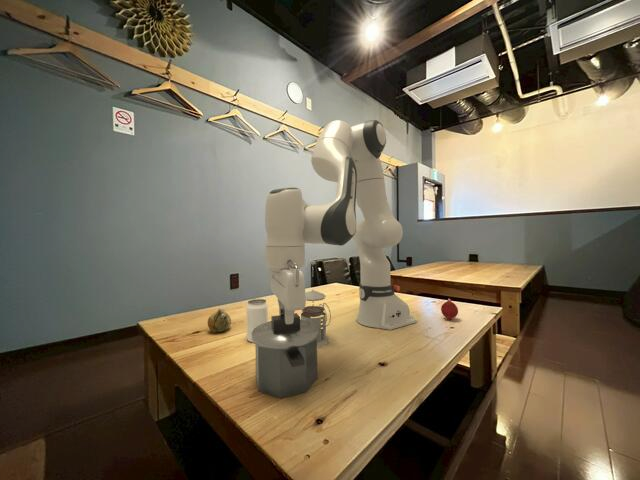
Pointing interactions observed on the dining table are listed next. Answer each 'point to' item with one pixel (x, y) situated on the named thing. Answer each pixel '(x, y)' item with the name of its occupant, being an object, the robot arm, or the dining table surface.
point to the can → (256, 315)
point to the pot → (286, 370)
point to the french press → (316, 313)
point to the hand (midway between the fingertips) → (286, 319)
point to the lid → (285, 333)
